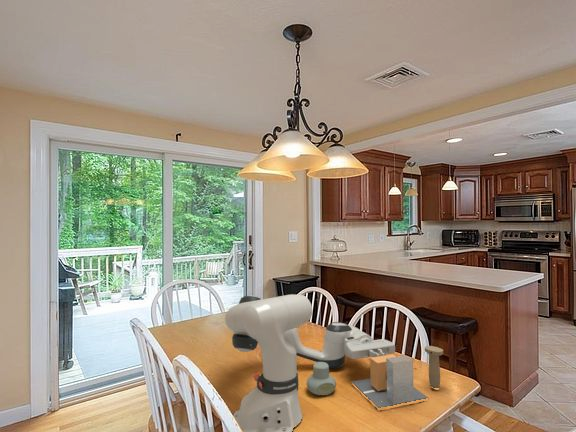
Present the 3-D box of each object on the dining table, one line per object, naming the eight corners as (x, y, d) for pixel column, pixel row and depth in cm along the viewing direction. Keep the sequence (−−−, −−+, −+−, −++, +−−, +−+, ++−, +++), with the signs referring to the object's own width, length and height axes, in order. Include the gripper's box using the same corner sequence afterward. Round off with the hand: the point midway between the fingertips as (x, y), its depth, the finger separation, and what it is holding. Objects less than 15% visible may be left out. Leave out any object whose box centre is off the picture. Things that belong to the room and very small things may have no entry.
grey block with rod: (393, 404, 111) (393, 363, 111) (369, 383, 126) (368, 346, 126) (413, 400, 113) (412, 359, 114) (387, 380, 128) (386, 344, 129)
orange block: (377, 390, 119) (377, 363, 119) (370, 384, 123) (370, 357, 124) (401, 386, 122) (400, 359, 122) (393, 380, 126) (392, 354, 127)
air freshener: (311, 399, 117) (311, 371, 117) (303, 388, 125) (303, 362, 125) (339, 394, 120) (339, 367, 120) (330, 384, 128) (329, 358, 128)
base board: (378, 411, 109) (378, 407, 109) (351, 384, 128) (351, 381, 128) (428, 400, 115) (428, 397, 115) (395, 376, 133) (395, 373, 133)
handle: (428, 383, 127) (428, 344, 128) (446, 389, 123) (445, 349, 123) (423, 388, 124) (422, 348, 124) (440, 394, 119) (440, 353, 120)
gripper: (384, 348, 142) (404, 361, 128) (341, 354, 135) (358, 369, 122) (383, 333, 142) (404, 344, 128) (341, 339, 136) (357, 351, 122)
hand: (381, 356), depth 125 cm, fingers closed
